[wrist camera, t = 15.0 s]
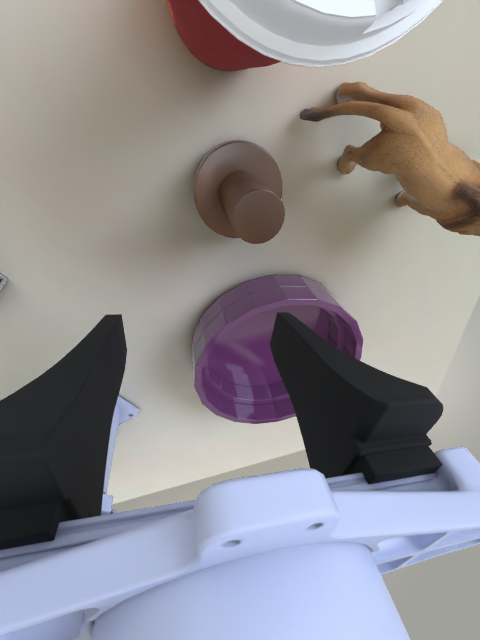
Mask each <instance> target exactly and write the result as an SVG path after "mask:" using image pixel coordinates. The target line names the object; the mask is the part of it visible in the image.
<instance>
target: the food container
mask: <svg viewBox="0 0 480 640" xmlns="http://www.w3.org/2000/svg"><path fill="white" fill-rule="evenodd" d="M7 281H8V279H7V278H6V277H5V276H3V275H2V274H0V291H1V290H2V288H3V287H4V285H5V284H6V282H7Z"/></svg>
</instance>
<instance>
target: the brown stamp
mask: <svg viewBox="0 0 480 640" xmlns="http://www.w3.org/2000/svg"><path fill="white" fill-rule="evenodd" d="M193 191H194V200H195V203H196V207H197V210H198V212H199V214H200V216H201V218H202V219H203V221H204V222H205V223H206V224H207V225H208V226H209V227H210V228H211V229H212V230H213V231H215V232H217V233H218V234H221V235H223V236H226V237H231V238H241V239H242V240H244V241H246V242H248V243H253V244H259V243H264V242H266V241H268V240H270V239H272V238H273V237H274V236H275V235H276V234H277V233H278V232H279V230H280V229H281V227H282V224H283V221H284V215H285V212H284V206H283V203H282V201H281V196H282V179H281V175H280V171H279V168H278V166H277V164H276V162H275V161H274V159H273V158H272V157H271V155H270V154H269V153H268V152H267V151H265V150H264V149H263V148H261V147H260V146H258V145H256V144H254V143H251V142H248V141H243V140H233V141H228V142H224V143H222V144H219V145H218V146H216V147H214V148H213V149H212V150H211V151H209V152H208V154H207V155H206V156H205V157H204V158H203V160H202V161H201V163H200V165H199V167H198V169H197V171H196V174H195V179H194V186H193Z"/></svg>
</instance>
